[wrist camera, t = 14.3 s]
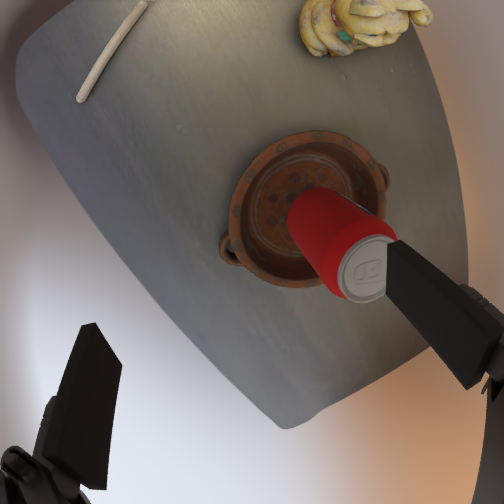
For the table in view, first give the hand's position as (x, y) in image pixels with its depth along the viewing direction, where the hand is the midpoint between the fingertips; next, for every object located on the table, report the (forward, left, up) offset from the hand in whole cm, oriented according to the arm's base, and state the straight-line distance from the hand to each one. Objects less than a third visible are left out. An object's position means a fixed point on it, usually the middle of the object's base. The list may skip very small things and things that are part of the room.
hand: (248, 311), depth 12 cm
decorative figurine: (0, +23, -23) cm, 33 cm away
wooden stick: (-19, +7, -23) cm, 31 cm away
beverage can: (+10, +3, -18) cm, 21 cm away
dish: (+9, +3, -23) cm, 25 cm away
